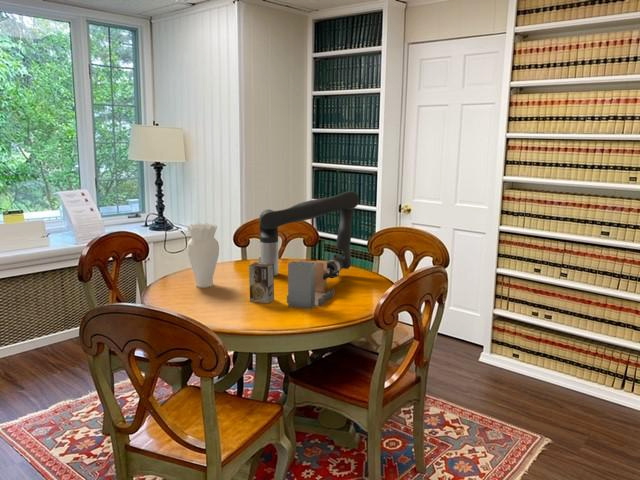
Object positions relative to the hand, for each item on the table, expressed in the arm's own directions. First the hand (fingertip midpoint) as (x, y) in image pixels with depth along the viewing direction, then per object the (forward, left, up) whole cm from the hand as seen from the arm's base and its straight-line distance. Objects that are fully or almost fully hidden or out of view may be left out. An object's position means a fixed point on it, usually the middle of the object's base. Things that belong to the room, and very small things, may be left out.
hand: (318, 276), depth 242 cm
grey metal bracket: (0, -12, -8) cm, 14 cm away
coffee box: (-19, -19, -8) cm, 28 cm away
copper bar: (0, +3, -8) cm, 8 cm away
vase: (-55, -7, -8) cm, 56 cm away
